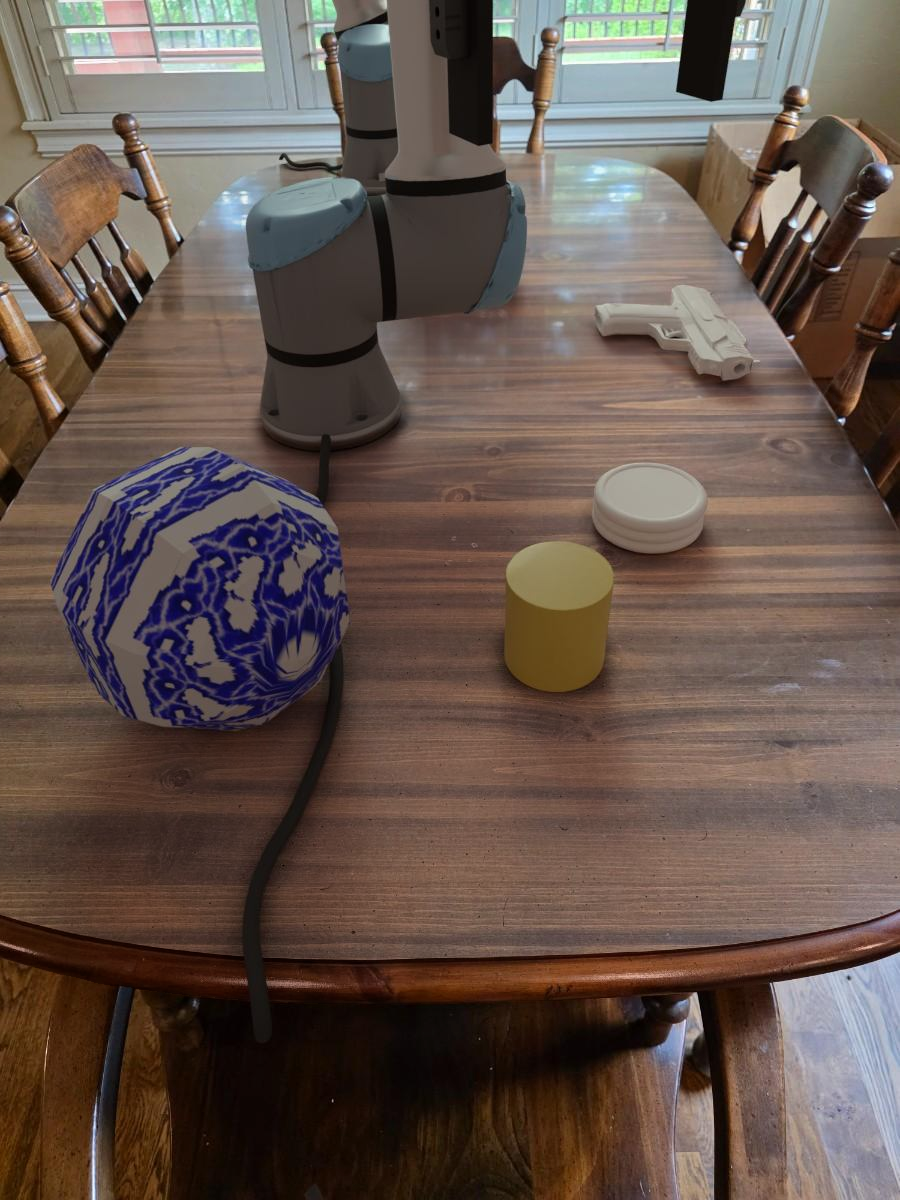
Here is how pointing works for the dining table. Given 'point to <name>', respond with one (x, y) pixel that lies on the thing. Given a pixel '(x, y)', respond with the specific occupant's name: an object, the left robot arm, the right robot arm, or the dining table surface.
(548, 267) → the dining table surface
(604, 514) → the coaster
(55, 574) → the ornament
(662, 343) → the pistol
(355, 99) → the right robot arm
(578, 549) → the can
